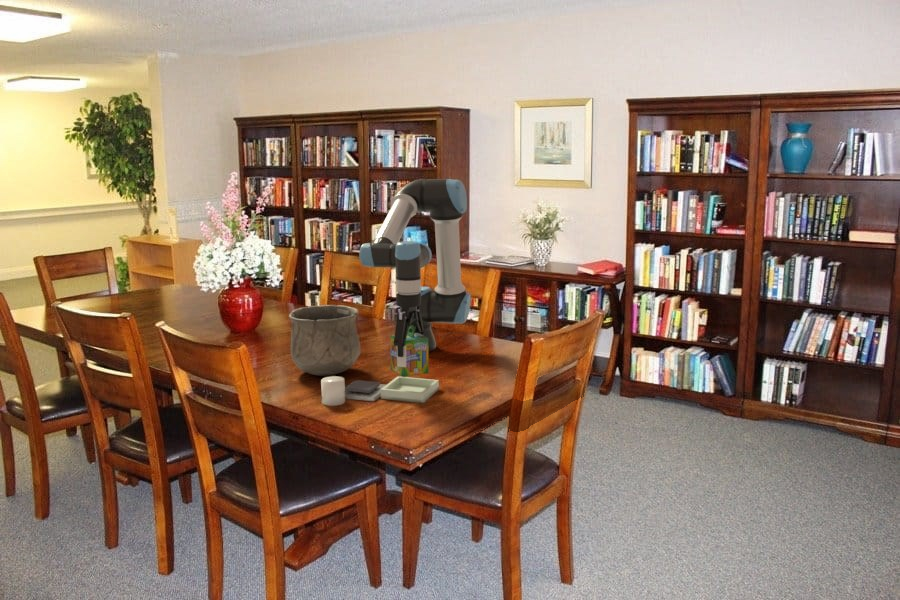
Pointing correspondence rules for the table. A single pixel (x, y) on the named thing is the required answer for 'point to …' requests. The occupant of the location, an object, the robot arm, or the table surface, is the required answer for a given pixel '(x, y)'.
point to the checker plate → (362, 386)
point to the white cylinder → (333, 390)
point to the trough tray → (410, 389)
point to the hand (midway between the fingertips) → (409, 361)
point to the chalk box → (412, 354)
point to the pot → (324, 339)
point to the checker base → (364, 394)
